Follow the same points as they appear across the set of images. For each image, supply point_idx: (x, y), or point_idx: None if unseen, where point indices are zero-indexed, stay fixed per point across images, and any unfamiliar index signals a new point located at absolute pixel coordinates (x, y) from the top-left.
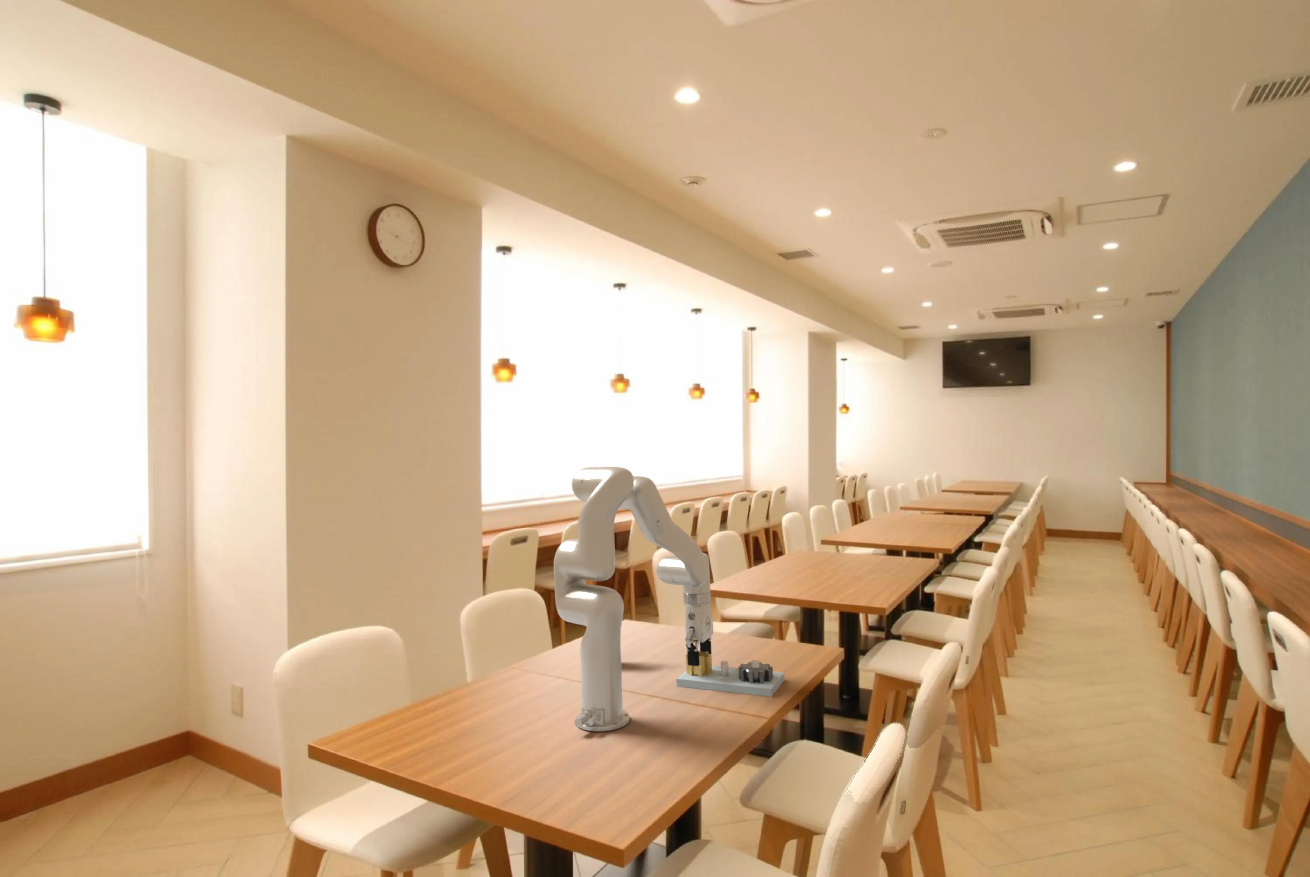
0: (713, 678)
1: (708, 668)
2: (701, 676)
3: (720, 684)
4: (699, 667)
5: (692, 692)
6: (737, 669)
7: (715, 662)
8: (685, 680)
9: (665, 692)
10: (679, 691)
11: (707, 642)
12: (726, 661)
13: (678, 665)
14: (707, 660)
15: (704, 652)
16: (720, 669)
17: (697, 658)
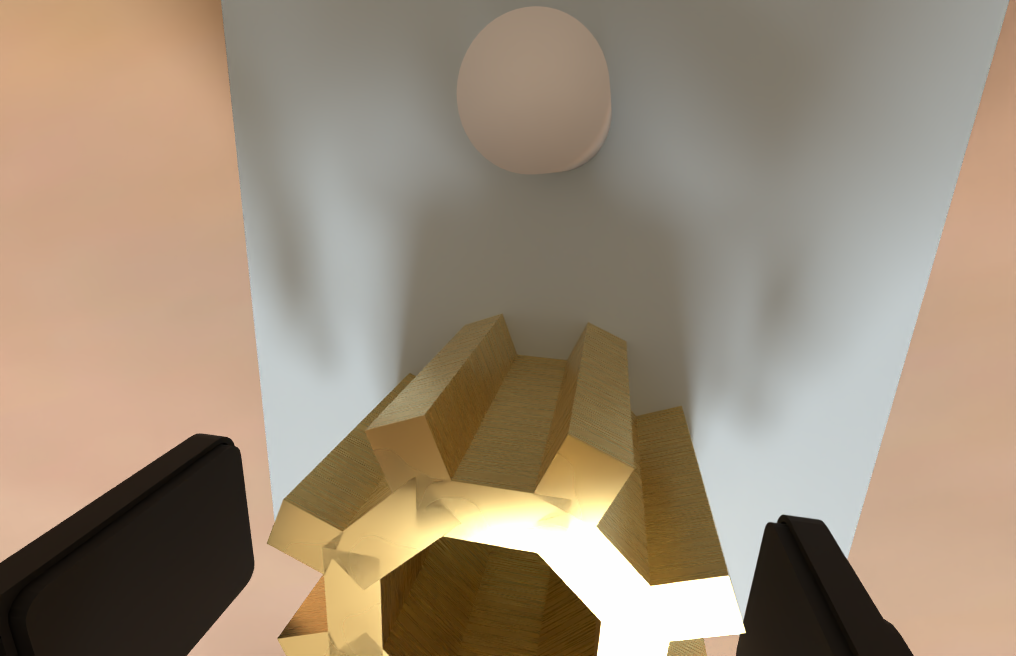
0: (743, 236)
1: (609, 361)
2: (683, 405)
3: (984, 64)
4: (705, 489)
5: (992, 406)
6: (275, 14)
7: (39, 382)
8: (842, 551)
9: (1006, 653)
10: (962, 538)
11: (47, 638)
12: (476, 65)
13: (235, 640)
14: (622, 426)
15: (347, 557)
16: (351, 243)
17: (874, 641)
